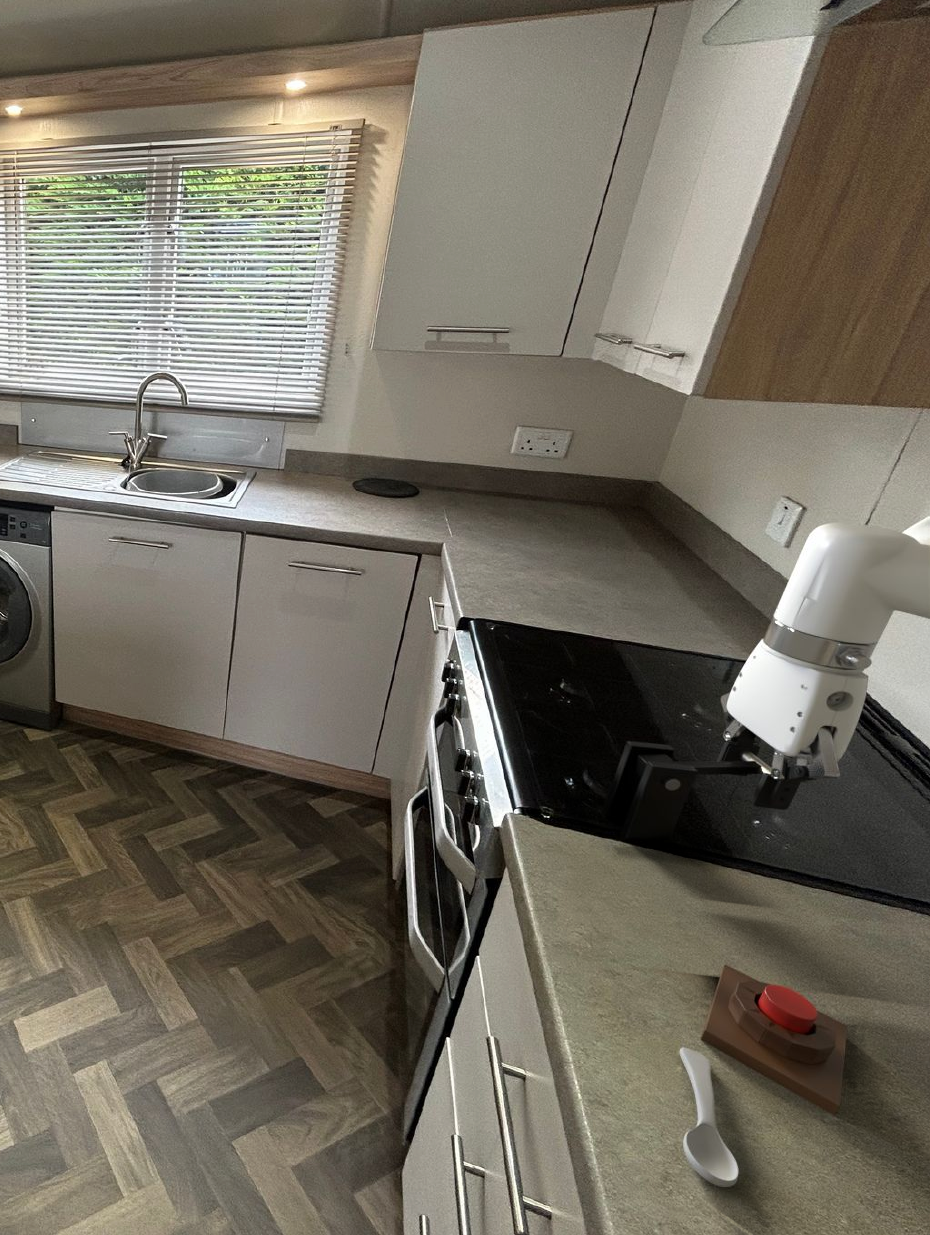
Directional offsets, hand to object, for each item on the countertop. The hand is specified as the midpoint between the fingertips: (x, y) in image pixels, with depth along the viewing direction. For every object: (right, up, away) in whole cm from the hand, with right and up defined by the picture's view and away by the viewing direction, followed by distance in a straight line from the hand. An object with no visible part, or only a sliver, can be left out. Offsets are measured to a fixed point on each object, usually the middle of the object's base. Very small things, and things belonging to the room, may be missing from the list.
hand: (748, 788), depth 78 cm
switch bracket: (-10, -7, +5) cm, 13 cm away
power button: (-16, -14, -19) cm, 28 cm away
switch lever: (-5, +1, 0) cm, 5 cm away
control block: (-16, -16, -18) cm, 29 cm away
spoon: (-28, -19, -24) cm, 41 cm away
